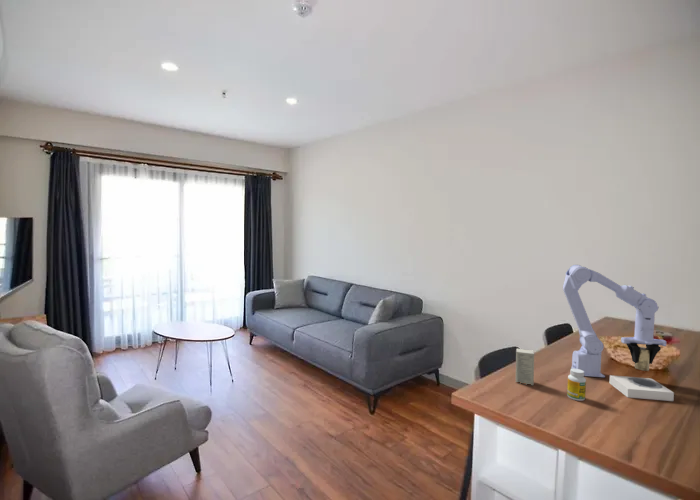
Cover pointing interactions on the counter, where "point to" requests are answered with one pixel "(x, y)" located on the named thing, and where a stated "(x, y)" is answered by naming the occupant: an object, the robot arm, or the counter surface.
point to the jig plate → (641, 388)
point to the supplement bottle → (576, 385)
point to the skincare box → (525, 366)
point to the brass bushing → (643, 359)
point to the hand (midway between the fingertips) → (642, 362)
